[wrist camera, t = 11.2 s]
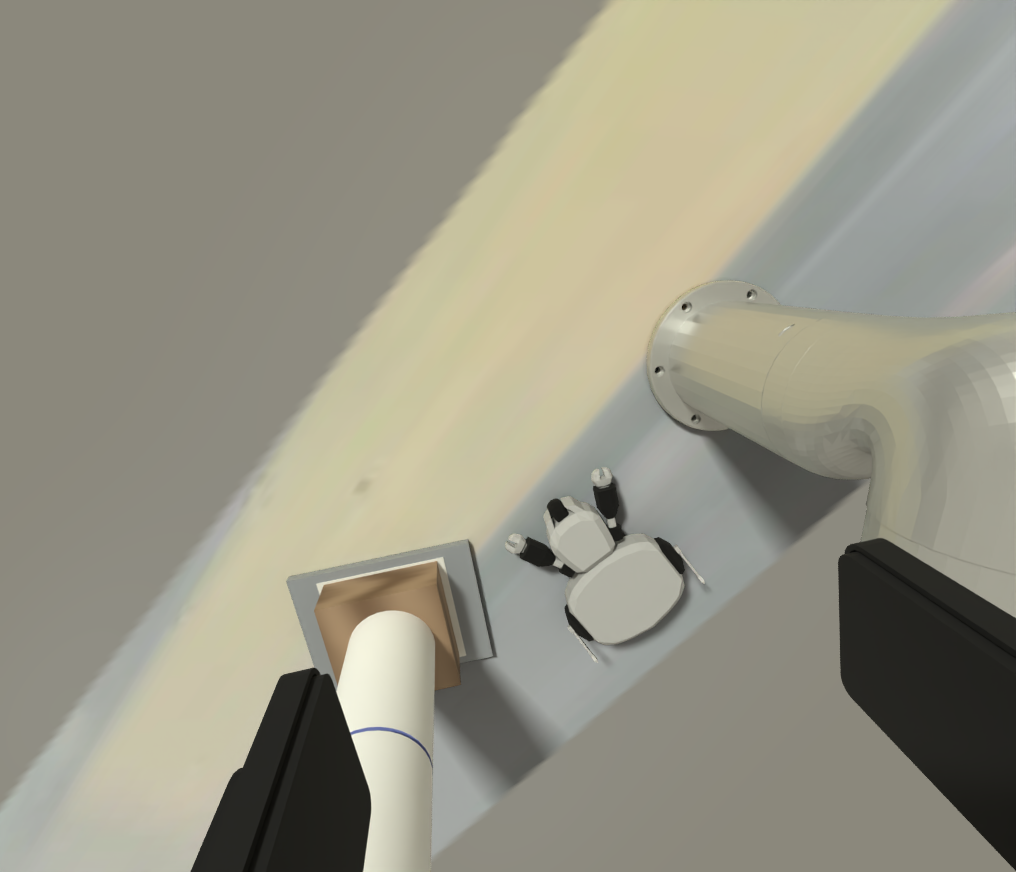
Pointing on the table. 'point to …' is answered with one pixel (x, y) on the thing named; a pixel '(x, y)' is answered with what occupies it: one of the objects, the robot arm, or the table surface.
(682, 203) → the table surface
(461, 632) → the plate
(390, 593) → the plinth
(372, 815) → the cylindrical container
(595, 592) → the robot toy
